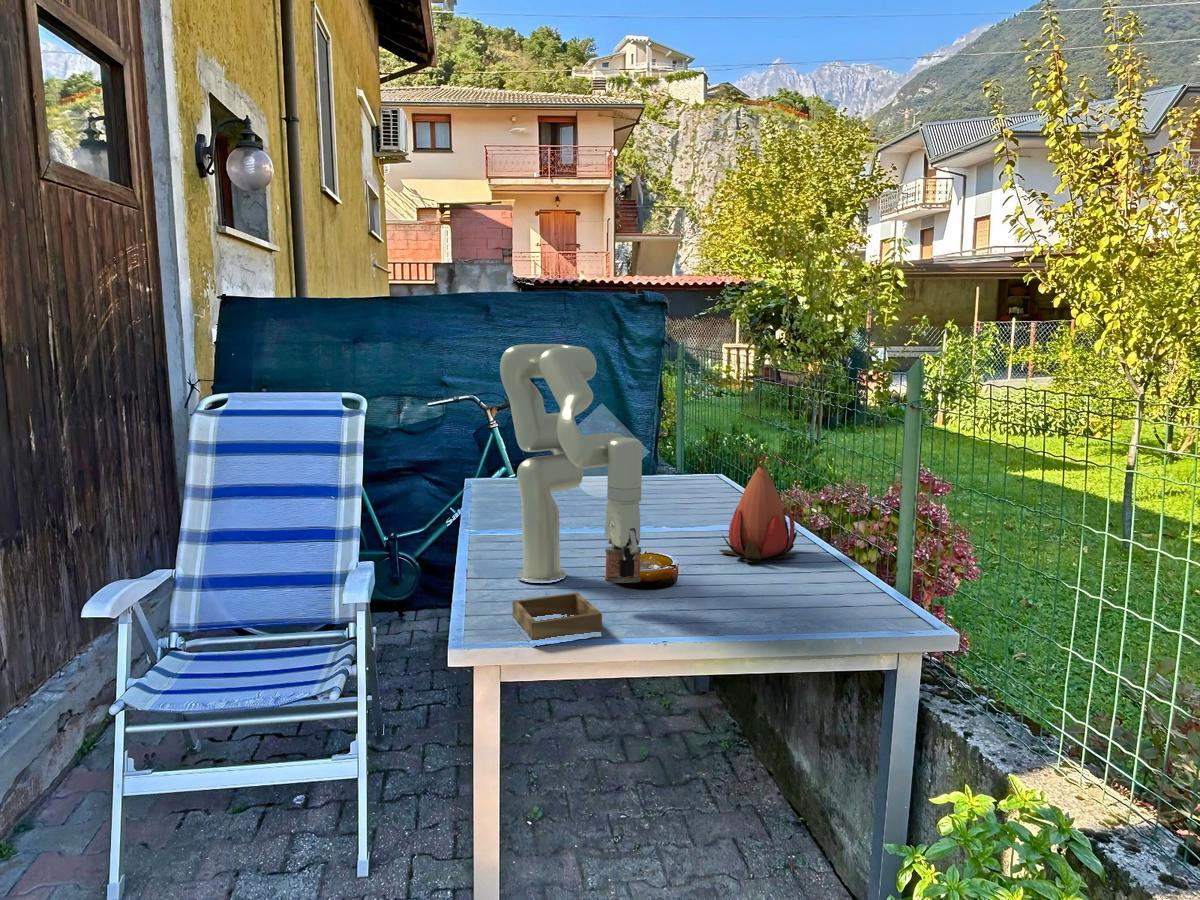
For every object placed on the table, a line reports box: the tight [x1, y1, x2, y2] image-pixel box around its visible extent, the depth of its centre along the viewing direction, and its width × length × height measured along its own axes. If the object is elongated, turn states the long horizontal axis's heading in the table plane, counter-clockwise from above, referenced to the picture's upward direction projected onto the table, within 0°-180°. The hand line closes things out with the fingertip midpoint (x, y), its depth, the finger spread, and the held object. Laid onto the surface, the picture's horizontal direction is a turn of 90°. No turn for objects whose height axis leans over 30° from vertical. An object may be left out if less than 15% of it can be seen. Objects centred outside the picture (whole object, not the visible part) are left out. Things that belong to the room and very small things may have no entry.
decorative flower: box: [718, 449, 798, 563], centre depth 223 cm, size 22×23×30 cm
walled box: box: [512, 592, 603, 640], centre depth 169 cm, size 15×15×5 cm
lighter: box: [604, 538, 642, 584], centre depth 179 cm, size 8×3×10 cm, turn 92°
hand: (622, 572), depth 180 cm, fingers closed on lighter, 4 cm apart
